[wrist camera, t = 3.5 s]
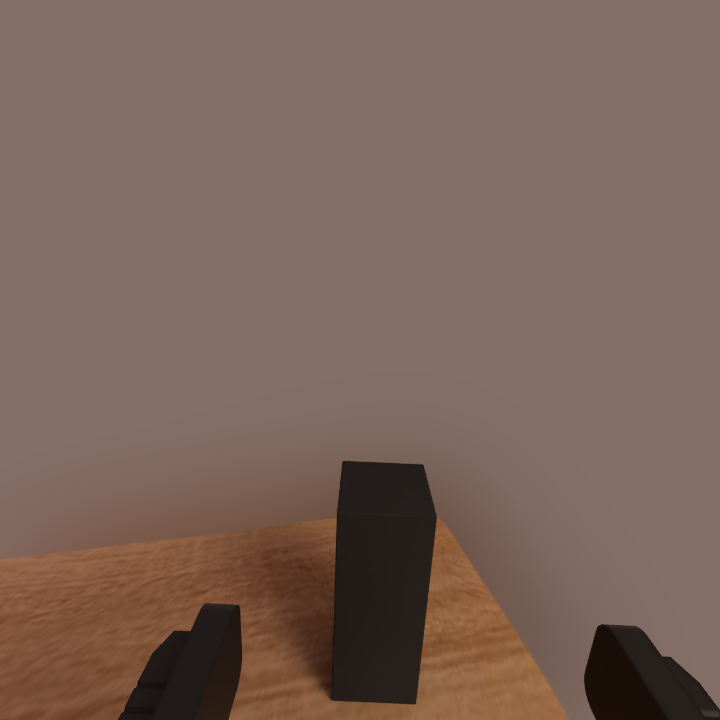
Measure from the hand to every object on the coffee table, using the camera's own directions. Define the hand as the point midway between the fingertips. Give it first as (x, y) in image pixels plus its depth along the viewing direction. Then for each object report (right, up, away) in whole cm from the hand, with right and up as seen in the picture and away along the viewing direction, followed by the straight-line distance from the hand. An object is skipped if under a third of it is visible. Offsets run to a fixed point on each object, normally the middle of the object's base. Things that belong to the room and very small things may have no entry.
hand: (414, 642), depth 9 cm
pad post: (0, -12, +15) cm, 19 cm away
